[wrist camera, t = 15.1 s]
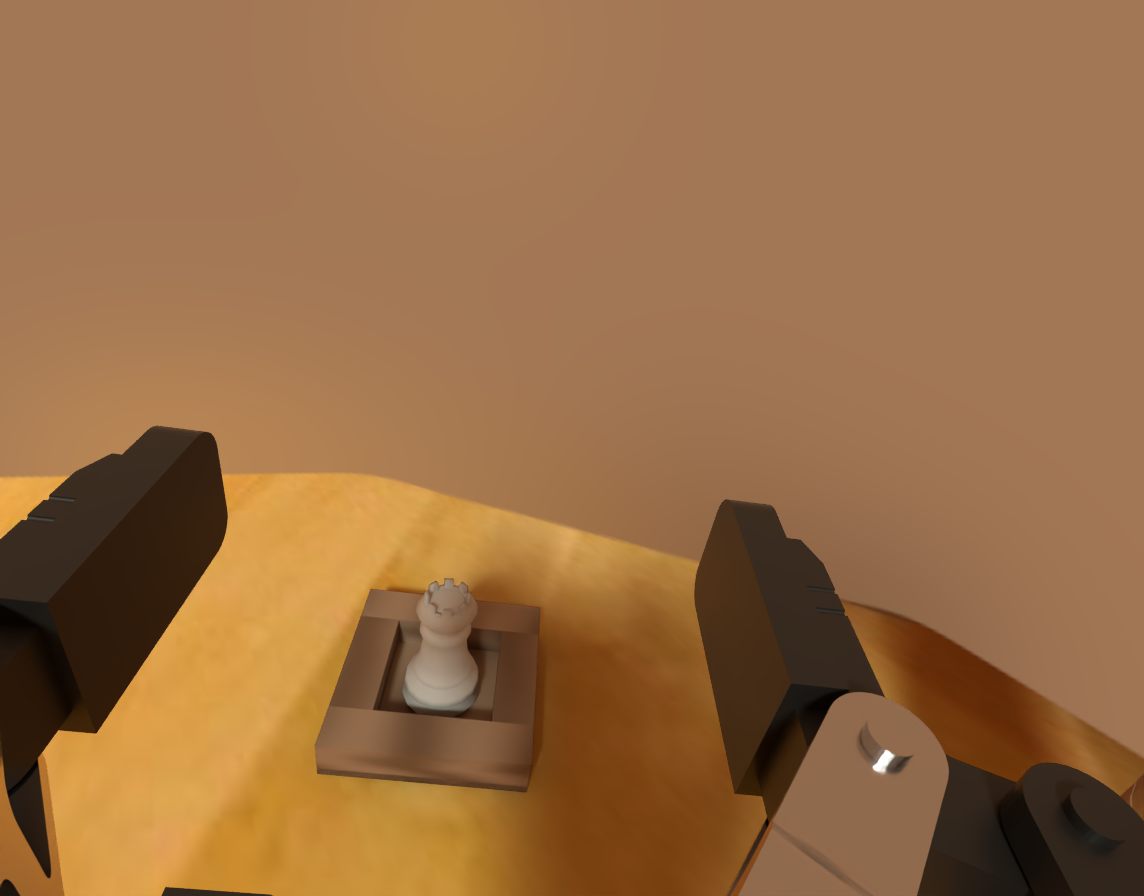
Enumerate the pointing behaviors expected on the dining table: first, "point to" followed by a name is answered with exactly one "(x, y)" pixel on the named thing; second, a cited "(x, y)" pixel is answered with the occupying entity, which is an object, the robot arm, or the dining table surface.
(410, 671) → the rook chess piece
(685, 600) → the dining table surface
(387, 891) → the dining table surface
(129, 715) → the dining table surface
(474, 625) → the square tray
